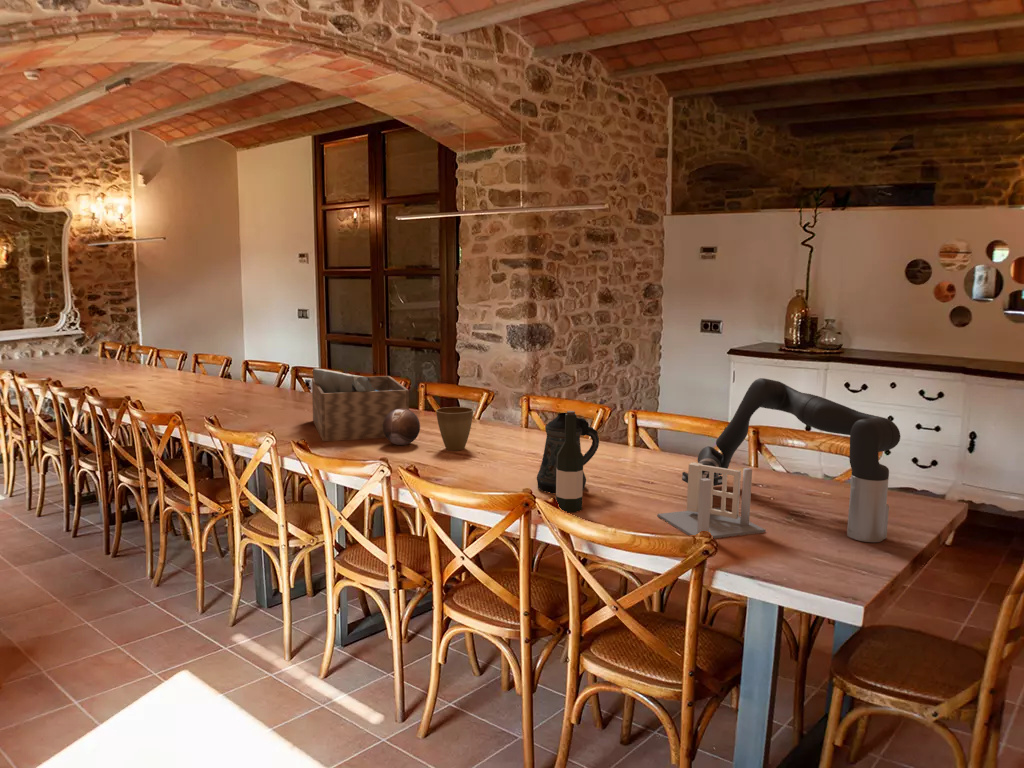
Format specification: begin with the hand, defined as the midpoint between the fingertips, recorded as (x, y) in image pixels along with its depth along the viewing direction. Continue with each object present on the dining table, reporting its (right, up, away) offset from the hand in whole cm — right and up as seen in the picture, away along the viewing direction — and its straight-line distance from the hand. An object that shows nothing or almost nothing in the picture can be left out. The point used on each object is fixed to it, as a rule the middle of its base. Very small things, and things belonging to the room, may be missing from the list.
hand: (697, 485), depth 235 cm
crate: (-125, +11, +117) cm, 171 cm away
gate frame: (+1, -10, -10) cm, 14 cm away
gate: (+3, -7, -7) cm, 11 cm away
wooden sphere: (-101, +5, +86) cm, 132 cm away
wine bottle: (-38, -8, +4) cm, 39 cm away
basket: (-123, +11, +118) cm, 171 cm away
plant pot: (-79, +4, +80) cm, 112 cm away
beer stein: (-38, -4, +27) cm, 47 cm away
